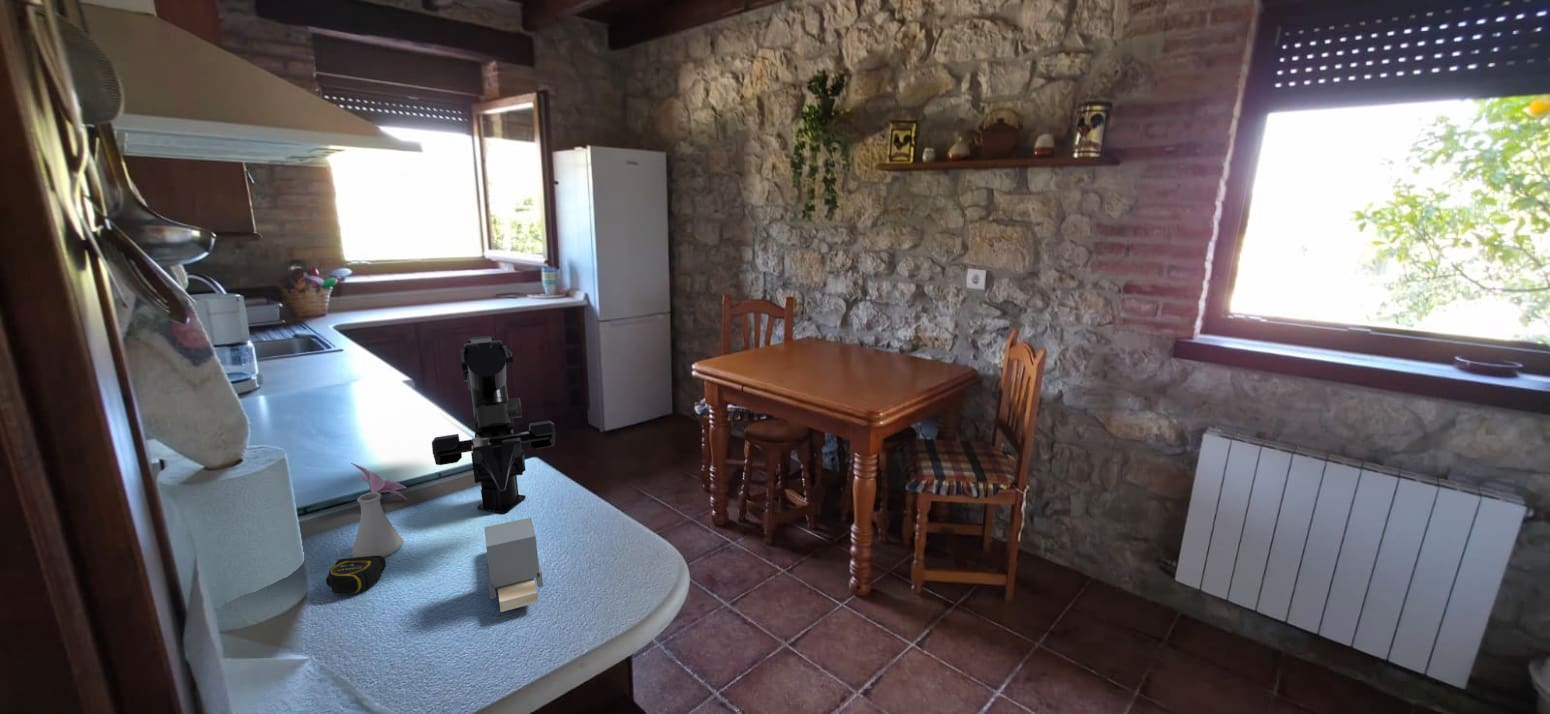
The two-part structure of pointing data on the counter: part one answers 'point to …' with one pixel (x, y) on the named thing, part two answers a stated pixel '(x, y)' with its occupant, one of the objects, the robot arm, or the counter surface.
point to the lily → (380, 483)
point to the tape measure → (355, 574)
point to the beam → (517, 595)
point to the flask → (375, 529)
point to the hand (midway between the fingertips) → (502, 489)
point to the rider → (511, 554)
